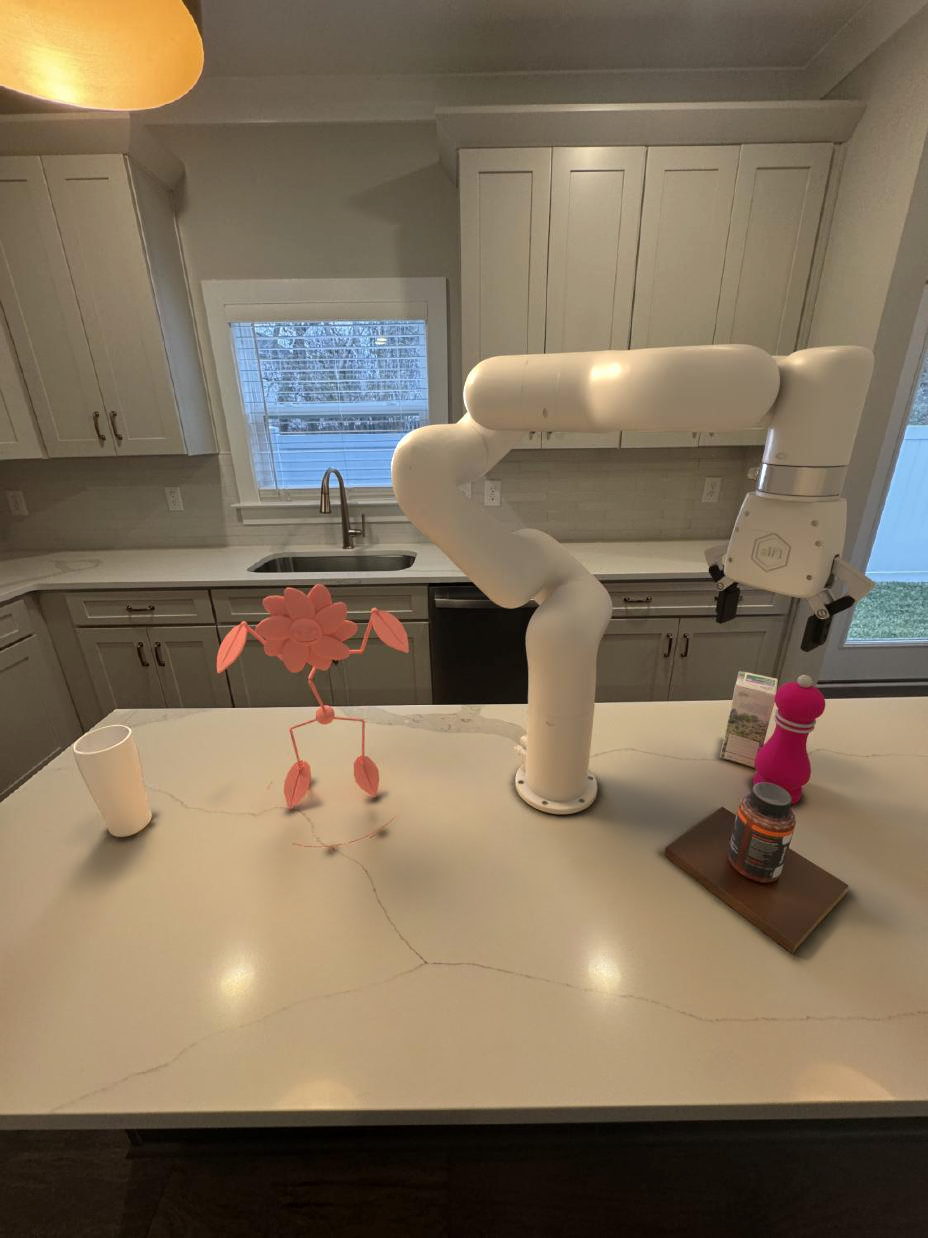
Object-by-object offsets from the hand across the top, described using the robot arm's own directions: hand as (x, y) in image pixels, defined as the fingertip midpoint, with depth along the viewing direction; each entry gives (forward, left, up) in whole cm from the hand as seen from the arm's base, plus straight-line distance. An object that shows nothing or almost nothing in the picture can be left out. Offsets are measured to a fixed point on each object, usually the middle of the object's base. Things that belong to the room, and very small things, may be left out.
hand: (764, 633), depth 59 cm
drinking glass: (-49, -68, -31) cm, 89 cm away
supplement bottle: (+6, -3, -29) cm, 30 cm away
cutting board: (+6, -3, -30) cm, 31 cm away
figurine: (-35, -43, -31) cm, 63 cm away
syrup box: (-8, +19, -31) cm, 37 cm away
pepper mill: (0, +15, -31) cm, 34 cm away
